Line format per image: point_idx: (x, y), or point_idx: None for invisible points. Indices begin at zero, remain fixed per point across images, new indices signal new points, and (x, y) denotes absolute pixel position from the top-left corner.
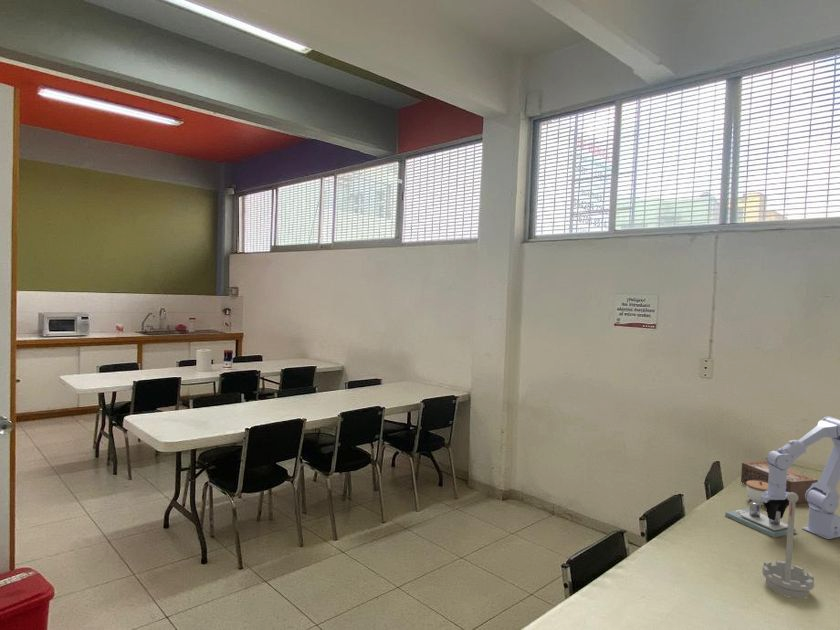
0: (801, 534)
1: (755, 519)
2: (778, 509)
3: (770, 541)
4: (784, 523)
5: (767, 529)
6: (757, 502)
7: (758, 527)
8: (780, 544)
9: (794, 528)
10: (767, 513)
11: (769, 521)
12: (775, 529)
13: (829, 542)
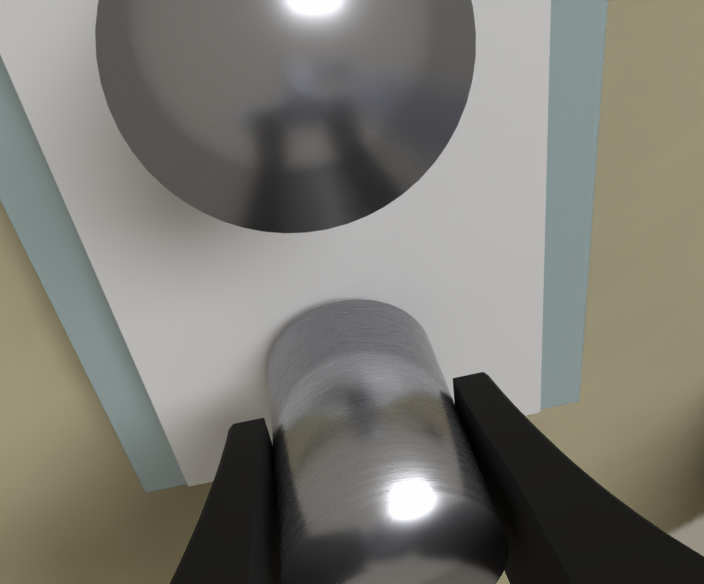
0: (588, 392)
1: (128, 168)
2: (500, 556)
3: (30, 509)
4: (535, 347)
5: (142, 398)
6: (448, 19)
7: (60, 303)
8: (104, 556)
9: (578, 389)
10: (211, 496)
11: (271, 365)
12: (211, 475)
13: (660, 525)
